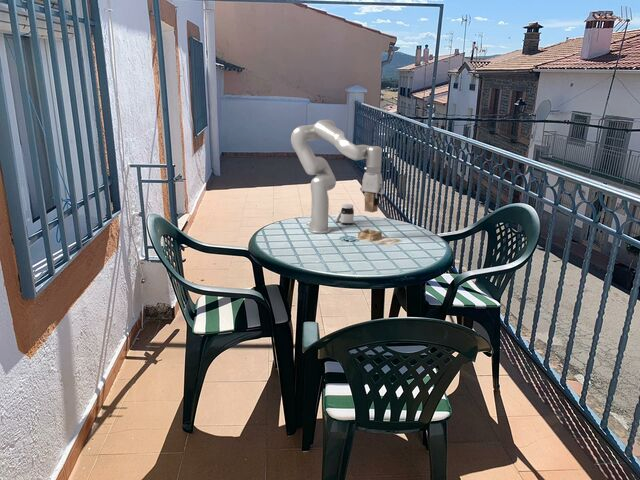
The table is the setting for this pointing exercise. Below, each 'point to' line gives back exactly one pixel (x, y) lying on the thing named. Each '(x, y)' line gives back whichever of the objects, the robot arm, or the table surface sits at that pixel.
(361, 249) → the table surface
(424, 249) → the table surface
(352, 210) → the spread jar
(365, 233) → the pocket board
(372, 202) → the walnut block
